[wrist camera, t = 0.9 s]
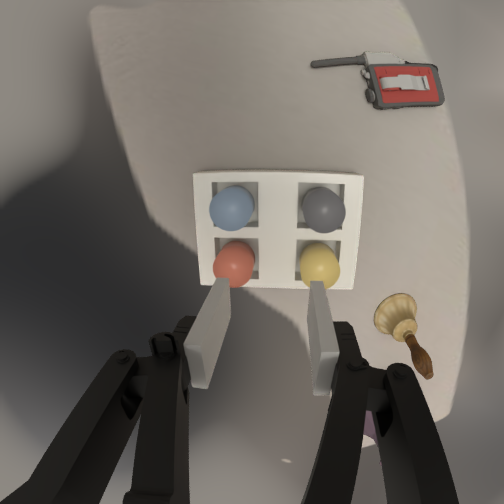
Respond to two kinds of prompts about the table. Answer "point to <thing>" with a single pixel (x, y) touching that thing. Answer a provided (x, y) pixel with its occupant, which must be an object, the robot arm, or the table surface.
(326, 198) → the button charcoal
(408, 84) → the walkie-talkie
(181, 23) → the table surface
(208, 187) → the console
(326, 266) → the button mustard
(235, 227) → the button slate
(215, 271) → the button brick
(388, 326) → the hand bell
